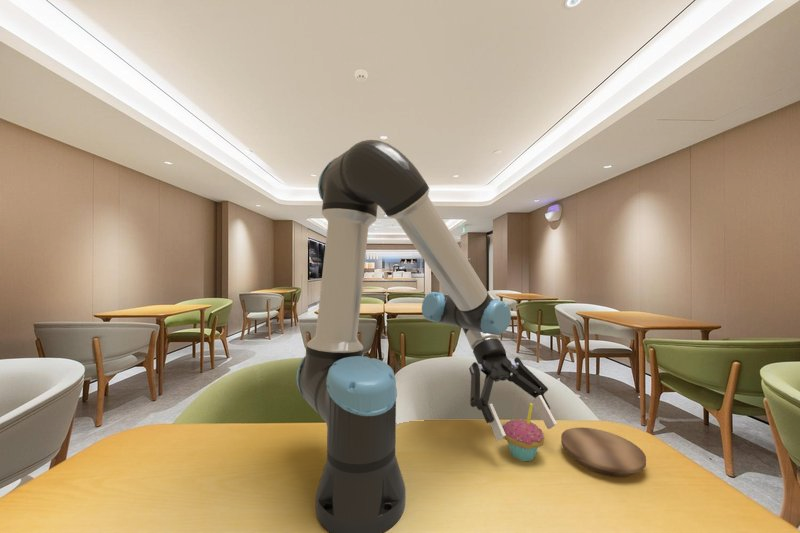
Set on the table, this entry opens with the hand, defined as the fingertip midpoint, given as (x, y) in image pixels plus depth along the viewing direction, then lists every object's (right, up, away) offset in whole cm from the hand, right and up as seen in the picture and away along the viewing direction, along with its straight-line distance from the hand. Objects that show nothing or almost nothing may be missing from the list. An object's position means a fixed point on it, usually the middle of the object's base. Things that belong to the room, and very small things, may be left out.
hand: (527, 432), depth 68 cm
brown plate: (+15, -5, -1) cm, 16 cm away
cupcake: (-1, -6, +1) cm, 6 cm away
